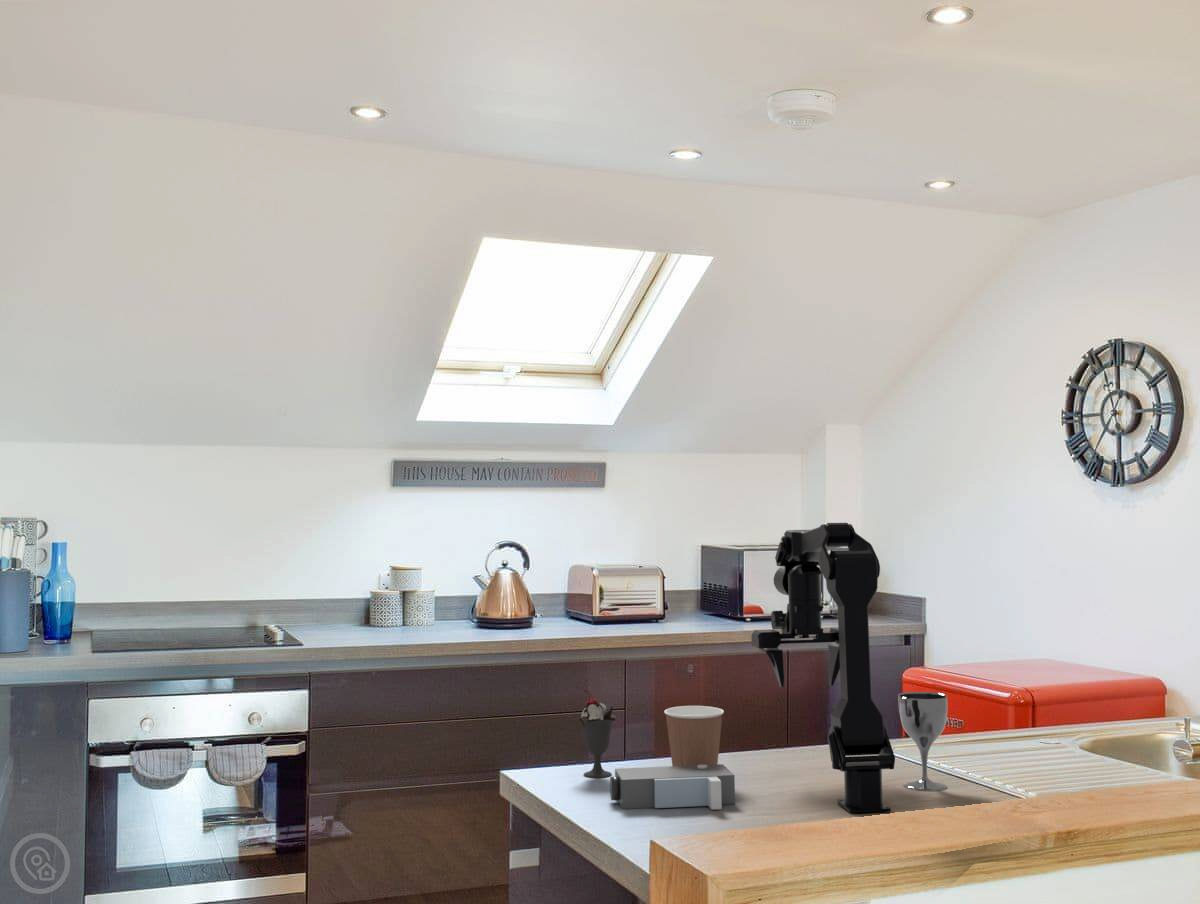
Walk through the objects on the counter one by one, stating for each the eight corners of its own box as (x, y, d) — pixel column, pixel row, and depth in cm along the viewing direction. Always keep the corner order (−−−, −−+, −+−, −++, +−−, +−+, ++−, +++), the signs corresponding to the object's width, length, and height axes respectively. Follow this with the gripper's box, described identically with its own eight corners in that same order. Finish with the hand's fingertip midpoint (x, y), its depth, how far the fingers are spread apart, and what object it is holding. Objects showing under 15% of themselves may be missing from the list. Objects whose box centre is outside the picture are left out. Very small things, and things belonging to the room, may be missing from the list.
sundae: (573, 772, 207) (572, 688, 207) (608, 769, 209) (607, 685, 210) (585, 780, 200) (584, 693, 201) (621, 777, 203) (620, 690, 204)
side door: (721, 809, 179) (721, 780, 180) (657, 812, 178) (657, 783, 178) (716, 804, 183) (716, 776, 183) (654, 806, 181) (654, 779, 182)
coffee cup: (735, 778, 201) (734, 708, 201) (707, 790, 192) (706, 717, 193) (683, 771, 206) (682, 703, 207) (654, 783, 198) (652, 712, 198)
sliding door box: (735, 803, 183) (734, 771, 184) (614, 809, 181) (614, 777, 181) (723, 791, 191) (722, 761, 192) (608, 796, 189) (607, 765, 189)
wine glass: (940, 779, 198) (938, 691, 198) (956, 791, 190) (954, 698, 190) (894, 780, 197) (892, 692, 198) (908, 792, 189) (906, 699, 190)
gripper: (839, 595, 218) (841, 678, 218) (743, 597, 216) (744, 681, 215) (860, 599, 207) (862, 687, 207) (758, 601, 205) (760, 690, 204)
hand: (806, 686), depth 208 cm, fingers open, 9 cm apart
